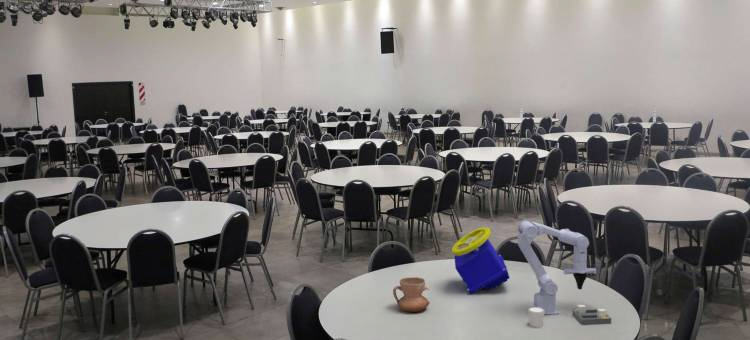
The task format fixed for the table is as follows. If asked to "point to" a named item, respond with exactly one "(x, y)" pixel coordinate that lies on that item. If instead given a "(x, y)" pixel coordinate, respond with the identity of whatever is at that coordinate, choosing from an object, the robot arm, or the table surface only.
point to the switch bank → (591, 317)
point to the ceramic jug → (412, 294)
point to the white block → (581, 309)
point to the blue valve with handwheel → (479, 261)
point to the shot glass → (536, 316)
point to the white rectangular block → (601, 313)
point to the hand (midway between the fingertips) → (579, 288)
